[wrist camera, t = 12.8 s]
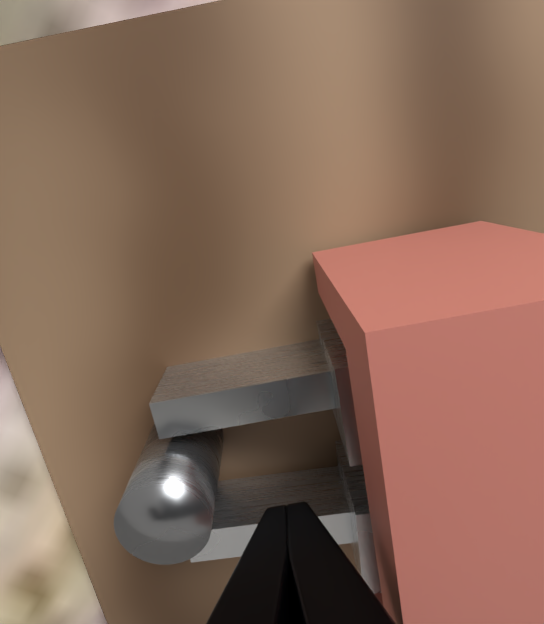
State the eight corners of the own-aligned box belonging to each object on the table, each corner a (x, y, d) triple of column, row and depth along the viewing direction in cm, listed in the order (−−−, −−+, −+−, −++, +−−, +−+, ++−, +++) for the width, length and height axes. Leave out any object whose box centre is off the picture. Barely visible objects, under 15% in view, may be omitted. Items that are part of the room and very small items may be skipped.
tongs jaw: (761, 376, 12) (949, 452, 9) (744, 460, 13) (910, 558, 9) (187, 449, 12) (160, 549, 9) (204, 527, 13) (184, 645, 10)
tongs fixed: (774, 233, 11) (1006, 259, 8) (754, 373, 12) (950, 451, 9) (123, 352, 12) (64, 426, 8) (160, 476, 13) (123, 588, 9)
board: (856, -117, 10) (906, -142, 9) (738, 635, 16) (761, 658, 15) (-80, 75, 10) (-108, 67, 10) (161, 724, 17) (156, 750, 16)
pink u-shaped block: (481, 221, 11) (717, 269, 5) (496, 530, 13) (663, 783, 8) (311, 252, 11) (365, 332, 5) (359, 552, 13) (428, 816, 8)
